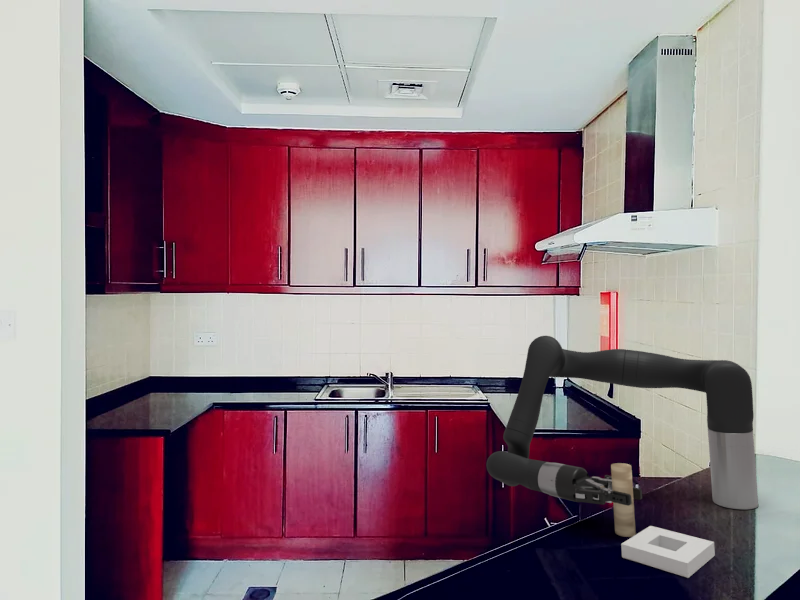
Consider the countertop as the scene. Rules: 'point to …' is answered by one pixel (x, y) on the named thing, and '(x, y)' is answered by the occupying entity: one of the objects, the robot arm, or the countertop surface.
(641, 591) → the countertop surface
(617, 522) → the peg
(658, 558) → the socket plate
